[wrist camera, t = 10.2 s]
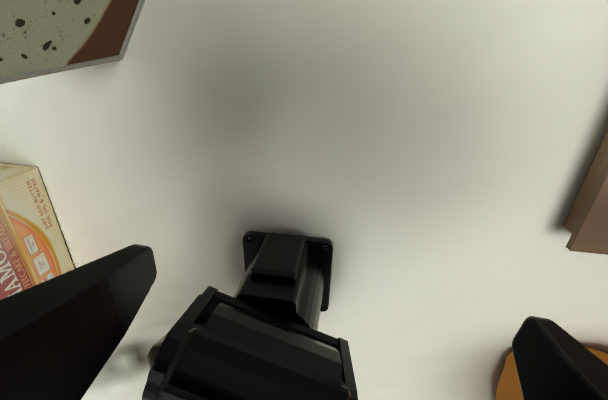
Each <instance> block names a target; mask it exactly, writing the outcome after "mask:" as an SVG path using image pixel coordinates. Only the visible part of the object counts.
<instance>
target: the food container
mask: <svg viewBox="0 0 608 400" xmlns="http://www.w3.org/2000/svg"><path fill="white" fill-rule="evenodd" d="M144 1H145V0H0V84H2V83H7V82H12V81H17V80H22V79H27V78H32V77H37V76H42V75H47V74H52V73H57V72H62V71H67V70H72V69H77V68H82V67H87V66H92V65H96V64H101V63H106V62H111V61H116V60H121V59H123V56H124V54H125V51H126V48H127V46H128V43H129V41H130V38H131V35H132V33H133V30H134V27H135V25H136V22H137V19H138V17H139V14H140V11H141V9H142V6H143V3H144Z"/></svg>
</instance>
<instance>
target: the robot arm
mask: <svg viewBox="0 0 608 400" xmlns="http://www.w3.org/2000/svg"><path fill="white" fill-rule="evenodd" d="M248 237H250V238H252V239H253V240H250V239H249V238H248ZM323 246H328V247H329V248H324V247H323ZM243 248H244V260H245V275H244V277H243V279H242V281H241V283H240V285H239V287H238V289H237V291H236V293H235V295H234V297H231V296H228V295H226V294H223V293H221V292H218V289H216V288H213V287H211V286H209V287H208V288H207V289H206V290H205V291H204V293H203V294H202V295H199V296H198V297H197V298H196V299H195V301H194V302H193V303H192V304H191V305H190V307H189V308H188V309H187V310H186V312H185V313H184V314H183V315H182V316H181V318H180V319H179V320H178V321H177V322H176V324H175V325H174V326H173V327H172V329H171V330H170V331H169V332H168V334H166V335H165V336H164V337H163V338H162V339H160V340H159V341H158V342H157V343H155V344H154V345H153V347H152V348H151V350H150V352H149V354H148V357H147V358H148V362H149V366H150V372H149V375H148V378H147V383H146V386H145V388H144V392H143V395H142V400H358V396H357V389H356V384H355V378H354V373H353V367H352V362H351V356H350V351H349V346H348V341H346V340H344V339H341V338H338V339H337V338H334V337H332V336H329V335H327V334H324V333H322V332H319V331H317V329H318V322H319V315H320V311H326V310H327V309H328V305H329V293H330V280H331V268H332V255H333V244H332V242H331V241H329V240H326V239H316V238H307V237H303V236H296V235H287V234H278V233H261V232H252V231H248V232H246V234H245V235H244V237H243ZM156 273H157V271H156V265H155V260H154V255H153V251H152V249H151V248H150V247H148V246H143V245H138V244H134V245H131V246H128V247H126V248H124V249H121V250H119V251H116V252H114V253H112V254H109V255H107V256H104V257H102V258H100V259H97V260H95V261H92V262H90V263H88V264H85V265H83V266H80V267H78V268H76V269H73V270H71V271H68V272H66V273H64V274H61V275H59V276H56V277H54V278H52V279H49V280H47V281H44V282H42V283H40V284H37V285H35V286H32V287H30V288H28V289H25V290H23V291H20V292H18V293H16V294H13V295H11V296H8V297H6V298H4V299H1V300H0V400H81V399H82V397H83V396H84V394H85V393H86V391H87V390H88V388H89V387H90V385H91V384H92V382H93V381H94V379H95V378H96V377H97V375H98V374H99V372H100V371H101V369H102V368H103V366H104V365H105V363H106V362H107V360H108V359H109V357H110V356H111V354H112V353H113V352H114V350H115V349H116V347H117V346H118V344H119V343H120V341H121V340H122V338H123V337H124V335H125V333H126V332H127V330H128V328H129V326H130V325H131V323H132V321H133V319H134V317H135V316H136V314H137V312H138V310H139V308H140V306H141V305H142V303H143V301H144V299H145V297H146V295H147V294H148V292H149V290H150V288H151V286H152V284H153V283H154V281H155V278H156ZM321 304H322V305H321ZM512 351H513V356H514V360H515V364H516V369H517V373H518V378H519V382H520V386H521V391H522V395H523V399H524V400H608V365H607V364H606V363H604V362H603V361H602V360H601V359H599V358H598V357H597V356H596V355H594V354H593V353H592V352H591V351H589V350H588V349H587V348H586V347H584V346H583V345H582V344H581V343H579V342H578V341H577V340H576V339H574V338H573V337H572V336H571V335H569V334H568V333H567V332H566V331H564V330H563V329H562V328H561V327H559V326H558V325H557V324H556V323H554V322H553V321H551V320H549V319H545V318H540V317H534V316H530V317H528V318H526V319H525V321H524V322H523V324H522V326H521V327H520V329H519V330H518V332H517V334H516V335H515V337H514V339H513V342H512Z"/></svg>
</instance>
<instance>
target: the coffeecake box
mask: <svg viewBox="0 0 608 400" xmlns="http://www.w3.org/2000/svg"><path fill="white" fill-rule="evenodd" d="M73 269H74V266H73V264H72V261H71V258H70V255H69V253H68V250H67V247H66V245H65V242H64V239H63V237H62V234H61V231H60V228H59V225H58V223H57V220H56V217H55V214H54V212H53V209H52V206H51V203H50V201H49V198H48V195H47V192H46V190H45V187H44V184H43V182H42V179H41V176H40V173H39V170H38V168H37V167H34V166H25V165H17V164H3V163H0V300H1V299H4V298H6V297H8V296H11V295H13V294H16V293H18V292H20V291H23V290H25V289H28V288H30V287H32V286H35V285H37V284H40V283H42V282H44V281H47V280H49V279H52V278H54V277H56V276H59V275H61V274H64V273H66V272H68V271H71V270H73Z"/></svg>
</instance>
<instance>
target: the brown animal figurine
mask: <svg viewBox="0 0 608 400" xmlns="http://www.w3.org/2000/svg"><path fill="white" fill-rule="evenodd" d="M586 348H587V349H588V350H589V351H591V352H592V353H593V354H594V355H596V356H597V357H598V358H599V359H601V360H602V361H603V362H604V363H606V364H607V365H608V353H605V352H602V351H599V350H596V349H592V348H589V347H586ZM495 396H496V400H524V399H523V395H522V391H521V386H520V382H519V378H518V373H517V369H516V364H515V360H514V356H513V351H512V352H511V353H510V354H509V355H508V356H507V358H506V360H505V366H504V369H503V372H502V374H501V377H500V380H499V383H498V386H497V391H496V395H495Z"/></svg>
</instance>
